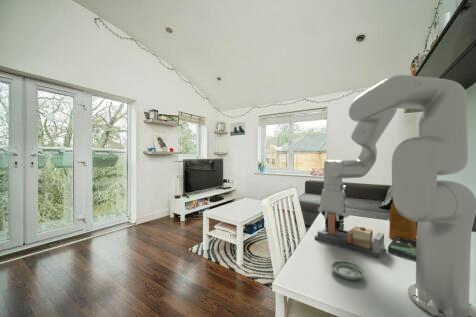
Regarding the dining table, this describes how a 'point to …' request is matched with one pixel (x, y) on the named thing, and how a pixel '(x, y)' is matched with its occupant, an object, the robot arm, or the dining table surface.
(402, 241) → the disk drive
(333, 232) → the reddish brown stepped block
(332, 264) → the saucer
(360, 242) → the maple block
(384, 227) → the dining table surface
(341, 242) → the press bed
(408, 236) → the coffee package
